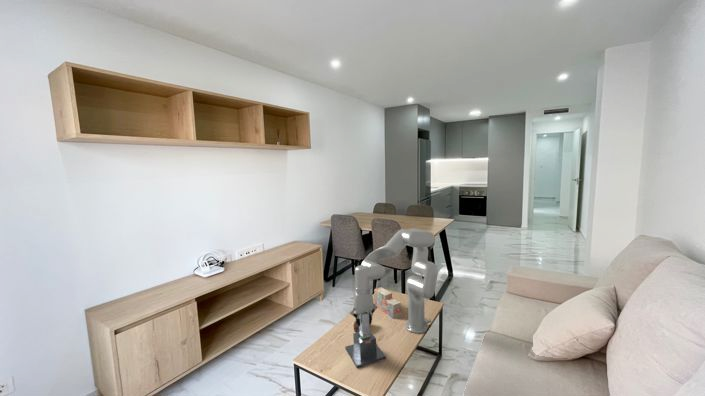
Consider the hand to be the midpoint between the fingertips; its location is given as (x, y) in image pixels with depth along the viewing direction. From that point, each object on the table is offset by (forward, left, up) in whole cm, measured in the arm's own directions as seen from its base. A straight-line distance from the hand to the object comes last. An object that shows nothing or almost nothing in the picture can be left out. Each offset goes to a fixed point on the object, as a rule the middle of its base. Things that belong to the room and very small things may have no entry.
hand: (364, 323), depth 147 cm
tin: (-8, -21, -17) cm, 28 cm away
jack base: (0, 0, -17) cm, 17 cm away
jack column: (0, 0, -10) cm, 10 cm away
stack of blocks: (-32, -35, -17) cm, 51 cm away
